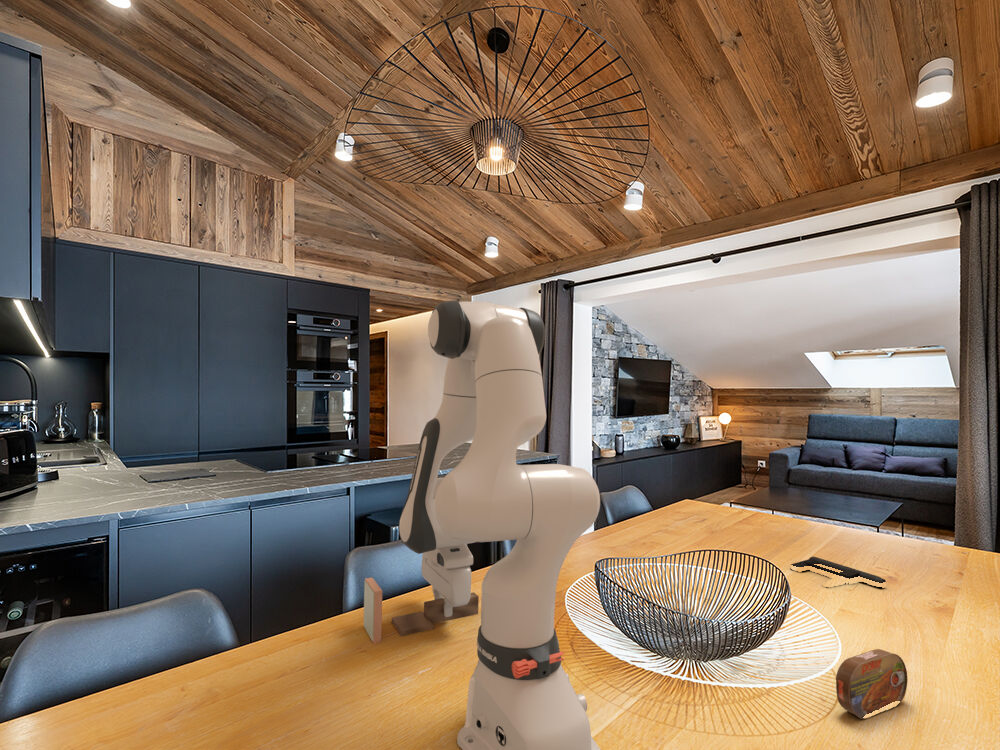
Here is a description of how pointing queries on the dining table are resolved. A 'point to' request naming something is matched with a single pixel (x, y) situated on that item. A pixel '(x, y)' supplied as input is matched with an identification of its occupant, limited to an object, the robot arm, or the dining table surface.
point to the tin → (870, 681)
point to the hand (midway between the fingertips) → (443, 611)
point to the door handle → (846, 572)
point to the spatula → (433, 615)
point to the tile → (373, 609)
